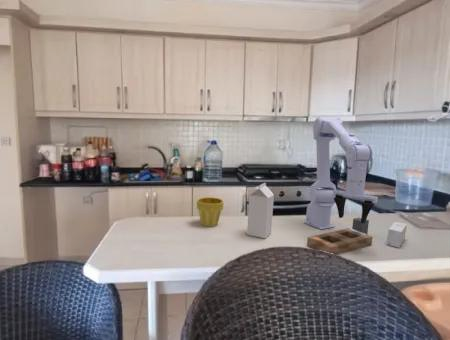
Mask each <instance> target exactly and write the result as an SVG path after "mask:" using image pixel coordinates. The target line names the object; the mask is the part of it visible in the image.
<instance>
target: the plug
mask: <svg viewBox="0 0 450 340" xmlns="http://www.w3.org/2000/svg"><path fill="white" fill-rule="evenodd" d="M361 217H362V215H360V216H359V217H356V218H353V219H352V227H351V229H354V230H356V231H359V232H362V233H365V234H367V235H368V231H369V225H370V224H369V223H370V220H369V219H366V222H365V223H361Z"/></svg>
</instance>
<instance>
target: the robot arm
mask: <svg viewBox="0 0 450 340" xmlns="http://www.w3.org/2000/svg"><path fill="white" fill-rule="evenodd" d="M313 122H314V123H313V126H312V129H313V131H312V133H313V134H312V135H313V140H315V141H316V143H315V144H316V178H317V179H316V181H315V182H314V183H312V184H311V185H310V190H309V201H310V203H308V205H307V207H306V212H305V214H306V216H305V221H304V224H306V225H309V226H312V227H315V228H317V229H319V230H325V229H330V228H335V225H334V224H331V216H332V215H331V214H332V208H333V206H334V205H335V206H336V209H337V212H338V218H339V219H342V218H344V214H345V207H346V201H347V199H352V200H357V201H361V202H362V203H361V216H362V217H361V223H365V222H366V219H367V218H368V215H369V214H370V212H371V210H372V208H374V206H375V204H377V203H378V201H379V197H378V196H374V195H371V194H365V186H366V176H367V169H368V163H369V162H370V161H371V159H372V157H373V150H372V149H373V148H372V147H371V146H370V144H363V143H362V142H361V141H360V140H359V139H358V138H357V137H356V135H355V133H353V132H348V131H347V130H346V129H345V127H344V123H343V120H342V119H341V118H340V117H339V118H338V117H337V118H333V117H332V118H331V117H317V118H315V120H314V121H313ZM336 138H337V139H338V144H339V146H340V147H341V148H342V150H343V151H344V152H345V159H346V166H347V175H346V183H345V185H346V187H345V190H340V189H337V186H336V184H335V183H333V182H332V181H331V168H330V167H331V166H330V164H331V163H330V162H331V161H330V143H331V141H333V140H335V139H336ZM367 220H368V219H367Z"/></svg>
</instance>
